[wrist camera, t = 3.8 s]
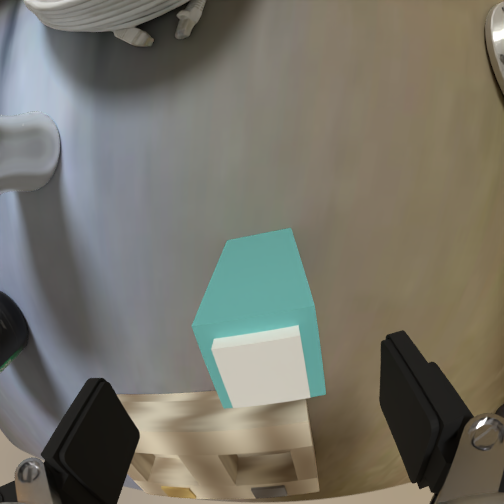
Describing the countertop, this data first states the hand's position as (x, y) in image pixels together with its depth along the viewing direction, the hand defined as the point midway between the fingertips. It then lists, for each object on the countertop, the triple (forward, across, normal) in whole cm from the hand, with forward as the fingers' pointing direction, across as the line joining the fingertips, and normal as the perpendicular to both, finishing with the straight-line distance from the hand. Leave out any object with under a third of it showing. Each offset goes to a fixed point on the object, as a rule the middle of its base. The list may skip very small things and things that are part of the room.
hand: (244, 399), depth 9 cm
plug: (+11, -1, 0) cm, 11 cm away
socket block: (+12, +7, +16) cm, 21 cm away
